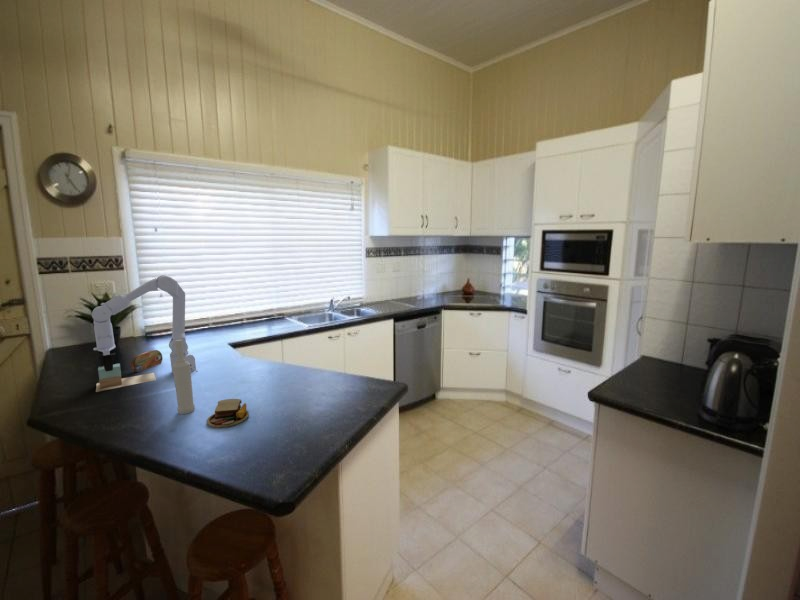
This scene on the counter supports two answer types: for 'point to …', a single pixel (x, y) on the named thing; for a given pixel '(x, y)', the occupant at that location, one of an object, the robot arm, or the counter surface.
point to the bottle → (183, 381)
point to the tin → (146, 360)
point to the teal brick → (109, 372)
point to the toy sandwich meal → (228, 413)
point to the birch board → (130, 381)
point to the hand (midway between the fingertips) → (109, 368)
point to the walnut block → (110, 382)
